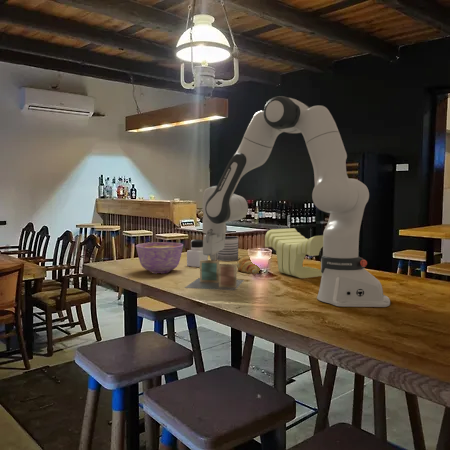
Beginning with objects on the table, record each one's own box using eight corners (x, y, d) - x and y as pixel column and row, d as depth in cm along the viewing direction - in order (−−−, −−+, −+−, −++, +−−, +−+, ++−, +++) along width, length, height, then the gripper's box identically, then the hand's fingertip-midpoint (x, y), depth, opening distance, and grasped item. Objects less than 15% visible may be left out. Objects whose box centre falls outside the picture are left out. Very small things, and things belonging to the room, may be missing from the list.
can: (212, 260, 230) (212, 236, 229) (219, 257, 241) (219, 233, 240) (234, 261, 227) (234, 237, 226) (241, 258, 238) (241, 234, 237)
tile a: (219, 281, 174) (219, 260, 173) (218, 282, 172) (218, 261, 172) (201, 280, 176) (201, 259, 175) (200, 281, 174) (200, 260, 173)
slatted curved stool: (264, 270, 202) (265, 229, 201) (293, 267, 210) (294, 228, 209) (309, 283, 176) (310, 236, 175) (340, 278, 184) (341, 234, 182)
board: (244, 282, 177) (244, 280, 177) (234, 292, 160) (234, 290, 160) (198, 279, 181) (198, 277, 181) (184, 289, 164) (184, 287, 164)
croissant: (263, 283, 192) (272, 266, 193) (243, 273, 189) (252, 255, 190) (246, 273, 212) (254, 257, 213) (227, 263, 209) (235, 248, 210)
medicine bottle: (208, 265, 216) (208, 239, 215) (199, 267, 210) (199, 240, 209) (195, 263, 219) (195, 238, 218) (186, 265, 213) (186, 239, 212)
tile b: (236, 286, 165) (236, 264, 165) (235, 287, 164) (235, 265, 163) (220, 285, 167) (220, 263, 166) (218, 286, 165) (218, 264, 164)
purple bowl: (129, 270, 202) (129, 243, 201) (172, 266, 212) (172, 241, 211) (145, 278, 185) (145, 249, 184) (191, 273, 195) (191, 246, 194)
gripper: (215, 230, 168) (215, 268, 169) (227, 226, 188) (227, 260, 189) (198, 230, 169) (198, 268, 170) (212, 226, 189) (212, 259, 190)
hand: (214, 263), depth 180 cm, fingers closed
